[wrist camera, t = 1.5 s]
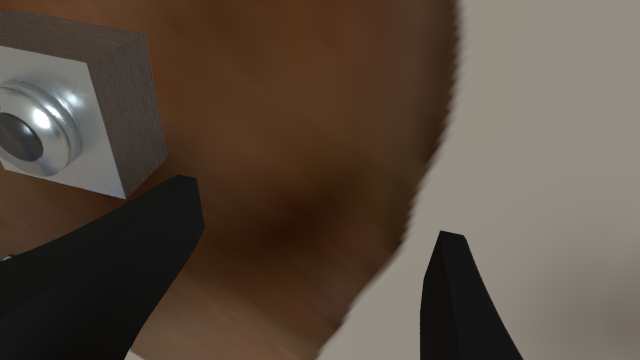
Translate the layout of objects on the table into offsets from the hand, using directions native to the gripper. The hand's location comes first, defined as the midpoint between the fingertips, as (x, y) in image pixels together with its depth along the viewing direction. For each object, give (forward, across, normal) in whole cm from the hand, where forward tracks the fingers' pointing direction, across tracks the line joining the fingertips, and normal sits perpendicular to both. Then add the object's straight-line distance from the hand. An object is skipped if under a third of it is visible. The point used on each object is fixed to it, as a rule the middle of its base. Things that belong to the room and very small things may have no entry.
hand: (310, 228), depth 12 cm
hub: (+6, +12, 0) cm, 13 cm away
